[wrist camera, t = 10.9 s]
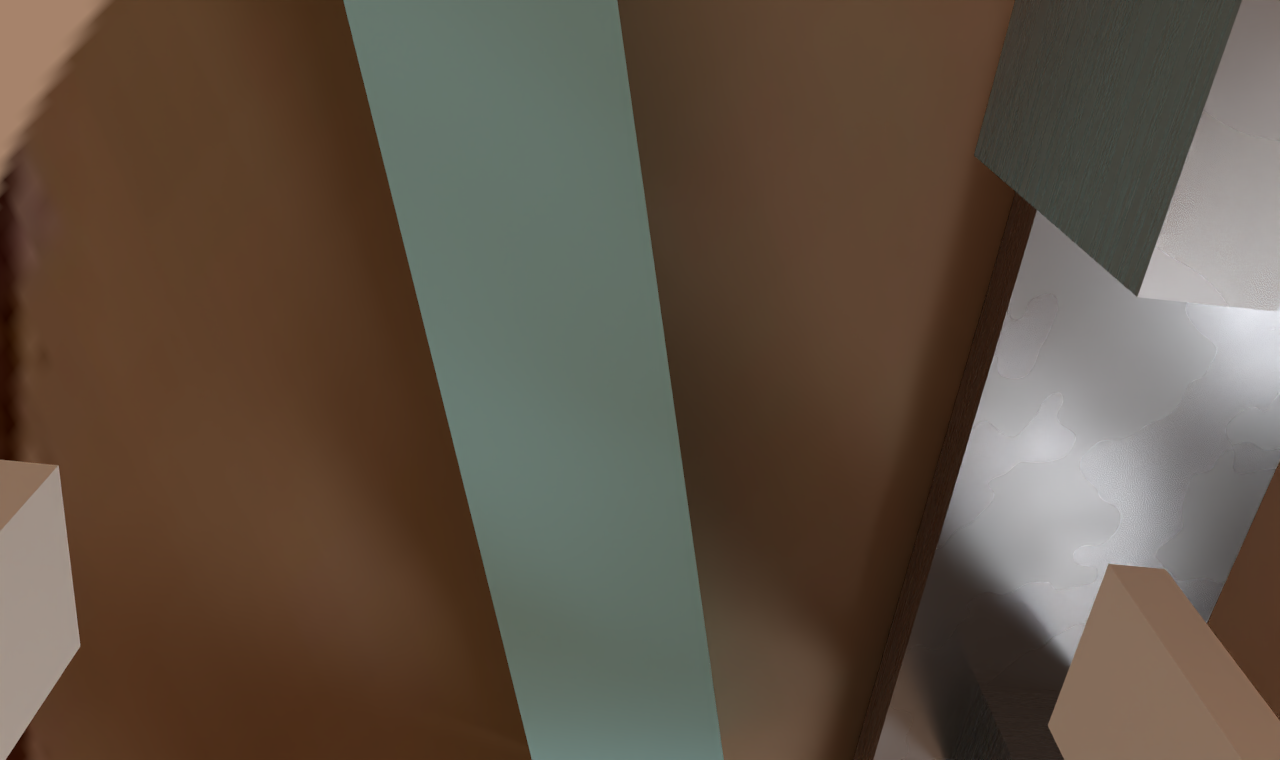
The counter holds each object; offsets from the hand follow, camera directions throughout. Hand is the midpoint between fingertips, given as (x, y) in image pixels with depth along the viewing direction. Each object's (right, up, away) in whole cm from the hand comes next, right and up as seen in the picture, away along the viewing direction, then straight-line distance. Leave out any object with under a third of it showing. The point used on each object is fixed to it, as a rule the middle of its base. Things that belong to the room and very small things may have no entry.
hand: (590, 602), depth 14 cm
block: (-1, +4, +6) cm, 7 cm away
